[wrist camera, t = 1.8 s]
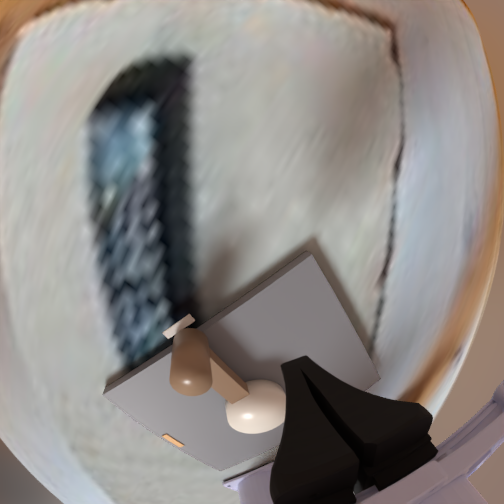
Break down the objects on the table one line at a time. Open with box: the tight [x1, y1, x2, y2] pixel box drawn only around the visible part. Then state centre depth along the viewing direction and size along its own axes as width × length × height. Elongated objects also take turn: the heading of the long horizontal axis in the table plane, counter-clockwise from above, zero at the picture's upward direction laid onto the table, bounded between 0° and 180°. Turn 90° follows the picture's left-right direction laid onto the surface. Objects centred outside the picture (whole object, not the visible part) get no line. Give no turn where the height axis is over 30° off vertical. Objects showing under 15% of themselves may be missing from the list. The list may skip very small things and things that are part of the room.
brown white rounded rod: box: [169, 328, 286, 434], centre depth 17 cm, size 12×5×4 cm, turn 34°
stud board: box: [103, 251, 381, 471], centre depth 21 cm, size 18×20×1 cm
